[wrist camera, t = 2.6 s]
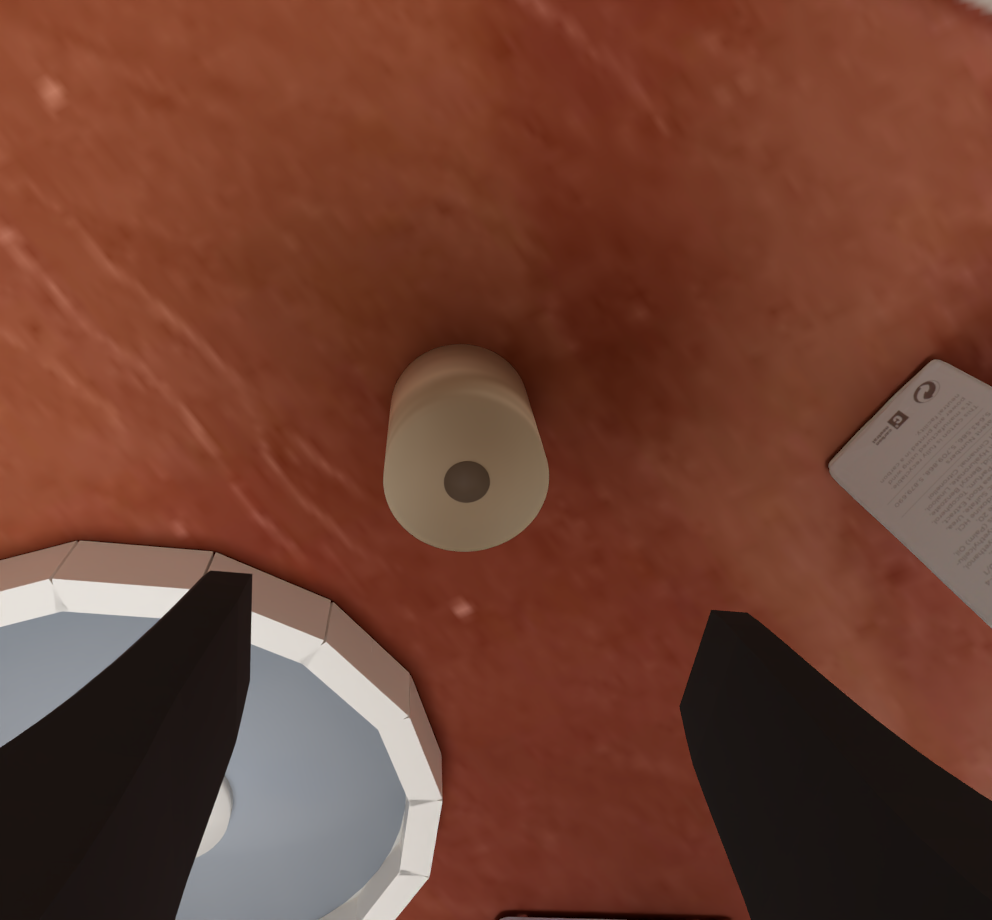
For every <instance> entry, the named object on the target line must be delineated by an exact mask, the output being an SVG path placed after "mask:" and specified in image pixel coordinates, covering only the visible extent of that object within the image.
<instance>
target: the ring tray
mask: <svg viewBox="0 0 992 920" xmlns="http://www.w3.org/2000/svg"><path fill="white" fill-rule="evenodd" d="M210 570H211V571H223V572H236V573H249V574H252V616H251V661H250V683H249V688H248V692H247V697H246V701H245V706H244V710H243V715H242V719H241V724H240V728H239V732H238V736H237V741H236V744H235V747H234V750H233V753H232V756H231V759H230V762H229V764H228V767H227V770H226V773H225V776H224V779H223V782H222V784H221V787H220V790H219V793H218V796H217V799H216V801H215V804H214V807H213V810H212V813H211V815H210V818H209V821H208V824H207V827H206V830H205V832H204V835H203V838H202V841H201V844H200V846H199V849H198V852H197V855H196V858H195V861H194V863H193V866H192V869H191V872H190V875H189V877H188V880H187V883H186V886H185V889H184V893H183V896H182V899H181V902H180V906H179V909H178V912H177V915H176V919H175V920H395V919H396V918H397V917H398V915H399V914H400V913H401V912H402V911H403V909H404V908H405V907H406V906H407V904H408V903H409V902H410V901H411V899H412V898H413V897H414V896H415V894H416V893H417V892H418V891H419V889H420V888H421V887H422V886H423V884H424V883H425V882H426V881H427V880H428V878H429V876H430V871H431V865H432V859H433V853H434V848H435V842H436V836H437V830H438V824H439V818H440V812H441V807H442V756H441V752H440V749H439V746H438V744H437V741H436V739H435V736H434V734H433V731H432V728H431V726H430V723H429V721H428V718H427V715H426V713H425V710H424V708H423V705H422V703H421V700H420V697H419V695H418V692H417V690H416V687H415V685H414V682H413V679H412V677H411V675H410V673H409V672H408V671H407V670H406V669H404V668H403V667H402V666H401V665H400V664H399V663H398V662H397V661H396V660H395V659H394V658H393V657H392V656H391V655H390V654H388V653H387V652H386V651H385V650H384V649H383V648H382V647H381V646H380V645H379V644H378V643H377V642H376V641H375V640H374V639H372V638H371V637H370V636H369V635H368V634H367V633H366V632H365V631H364V630H363V629H362V628H361V627H360V626H359V625H357V624H356V623H355V622H354V621H353V620H352V619H351V618H350V617H349V616H348V615H347V614H346V613H345V612H344V611H343V610H341V609H340V608H339V607H338V606H337V605H336V604H335V603H334V602H332V603H331V600H329V599H327V598H324V597H322V596H319V595H317V594H315V593H312V592H310V591H307V590H305V589H303V588H300V587H298V586H296V585H293V584H291V583H288V582H286V581H284V580H281V579H279V578H276V577H274V576H272V575H269V574H267V573H265V572H262V571H260V570H257V569H255V568H253V567H250V566H248V565H245V564H243V563H241V562H238V561H236V560H234V559H231V558H229V557H226V556H224V555H222V554H219V553H217V552H216V553H215V555H214V557H213V551H202V550H190V549H177V548H165V547H153V546H141V545H129V544H117V543H105V542H92V541H79V542H77V541H74V542H70V543H66V544H62V545H58V546H54V547H50V548H47V549H43V550H39V551H35V552H31V553H27V554H23V555H19V556H15V557H12V558H8V559H4V560H0V747H2V746H3V745H5V744H6V743H8V742H9V741H11V740H12V739H14V738H15V737H16V736H18V735H19V734H21V733H22V732H24V731H25V730H26V729H28V728H29V727H31V726H32V725H34V724H35V723H37V722H38V721H39V720H41V719H42V718H43V717H45V716H46V715H48V714H49V713H50V712H52V711H53V710H54V709H56V708H57V707H58V706H59V705H61V704H62V703H63V702H65V701H66V700H67V699H69V698H70V697H71V696H73V695H74V694H75V693H76V692H77V691H79V690H80V689H81V688H82V687H84V686H85V685H86V684H87V683H88V682H90V681H91V680H92V679H93V678H94V677H96V676H97V675H98V674H99V673H101V672H102V671H103V670H104V669H105V668H107V667H108V666H109V665H110V664H111V663H113V662H114V661H115V660H116V659H117V658H118V657H120V656H121V655H122V654H123V653H124V652H125V651H126V650H127V649H128V648H129V647H131V646H132V645H133V644H134V643H135V642H136V641H137V640H138V639H139V638H140V637H141V636H143V635H144V634H145V633H146V632H147V631H148V630H149V629H150V628H151V627H152V626H153V625H155V624H156V623H157V622H158V621H159V620H160V619H161V618H162V617H163V616H164V615H165V614H166V613H167V612H168V611H169V610H170V609H171V608H172V607H173V606H174V605H175V604H176V603H177V602H178V601H179V600H180V599H181V598H182V597H183V596H184V595H185V594H186V593H187V592H188V591H189V590H190V589H191V588H192V587H193V586H194V585H195V584H196V582H197V581H198V580H199V579H200V578H201V577H202V576H204V575H205V574H206V573H208V572H209V571H210Z"/></svg>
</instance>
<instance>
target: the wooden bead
mask: <svg viewBox="0 0 992 920" xmlns="http://www.w3.org/2000/svg"><path fill="white" fill-rule="evenodd" d="M383 485H384V493H385V496H386V500H387V503H388V505H389V508H390V510H391V512H392V513H393V515H394V517H395V518H396V520H397V521H398V522H399V523H400V524H401V526H402V527H403V528H404V529H406V530H407V531H408V532H409V533H410V534H411V535H413V536H414V537H416V538H417V539H419V540H421V541H423V542H424V543H426V544H429V545H431V546H434V547H437V548H441V549H445V550H450V551H462V552H468V551H479V550H484V549H488V548H491V547H495V546H498V545H500V544H502V543H504V542H507V541H508V540H510V539H512V538H513V537H515V536H516V535H518V534H519V533H520V532H522V531H523V530H524V529H525V528H526V527H527V526H528V525H529V524H530V523H531V522H532V521H533V519H534V518H535V517H536V516H537V514H538V512H539V511H540V509H541V507H542V505H543V503H544V501H545V498H546V494H547V491H548V485H549V468H548V462H547V458H546V455H545V452H544V448H543V445H542V442H541V439H540V435H539V432H538V429H537V425H536V422H535V419H534V415H533V412H532V409H531V406H530V402H529V399H528V396H527V392H526V389H525V386H524V384H523V382H522V380H521V378H520V376H519V375H518V373H517V372H516V370H515V369H514V368H513V367H512V366H511V364H510V363H508V362H507V361H506V360H505V359H504V358H502V357H501V356H499V355H498V354H496V353H494V352H492V351H490V350H488V349H485V348H482V347H479V346H474V345H468V344H453V345H446V346H441V347H438V348H435V349H432V350H430V351H428V352H426V353H424V354H422V355H421V356H419V357H418V358H416V359H415V360H414V361H413V362H412V363H411V364H409V366H408V367H407V368H406V369H405V370H404V371H403V373H402V374H401V376H400V377H399V379H398V381H397V383H396V385H395V387H394V391H393V394H392V399H391V406H390V416H389V426H388V435H387V445H386V455H385V465H384V476H383Z"/></svg>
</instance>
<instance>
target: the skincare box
mask: <svg viewBox="0 0 992 920" xmlns="http://www.w3.org/2000/svg"><path fill="white" fill-rule="evenodd" d="M828 467H829V472H830V474H831V476H832V477H833V478H834V479H835V480H836V481H837V483H838V484H839V485H840V486H842V487H843V488H844V489H845V490H846V491H847V492H848V493H849V494H850V495H851V496H852V497H853V498H854V499H855V500H856V501H857V502H858V503H859V504H860V505H862V506H863V507H864V508H865V509H866V510H867V511H868V512H869V513H870V514H871V515H872V516H874V517H875V518H876V519H877V520H878V521H879V522H880V523H881V524H882V525H883V526H884V527H885V528H886V529H888V530H889V531H890V532H891V533H892V534H893V535H894V536H895V537H896V538H897V539H898V540H899V541H900V542H901V543H902V544H904V545H905V546H906V547H907V548H908V549H909V550H910V551H911V552H912V553H913V554H914V555H915V556H916V557H917V558H918V559H919V560H920V561H921V562H923V563H924V564H925V565H926V566H927V567H928V568H929V569H930V570H931V571H932V572H933V573H934V574H935V575H936V576H937V577H938V578H939V579H940V580H941V581H942V582H943V583H944V584H945V585H946V586H947V587H948V588H949V589H951V590H952V591H953V592H954V593H955V594H956V595H957V596H958V597H959V598H960V599H961V600H962V601H963V602H964V603H965V604H966V605H967V606H968V607H970V608H971V609H972V610H973V611H974V612H975V613H976V614H977V615H978V616H979V617H980V618H981V619H982V620H983V621H984V622H986V623H987V624H988V625H989V626H990V627H991V628H992V387H991V386H989V385H988V384H986V383H984V382H982V381H980V380H978V379H976V378H974V377H973V376H971V375H969V374H967V373H965V372H963V371H961V370H959V369H958V368H956V367H954V366H952V365H950V364H948V363H946V362H944V361H941V360H936V359H935V360H932V361H930V362H929V363H928V364H927V365H926V366H925V367H924V368H923V369H922V370H921V371H919V372H918V373H917V374H916V375H915V376H914V377H913V378H912V379H911V380H910V381H909V382H907V383H906V384H905V385H904V386H903V387H902V388H901V389H900V390H899V391H898V392H897V393H896V394H895V395H894V396H893V397H892V398H891V399H890V400H889V401H888V402H887V403H886V404H885V405H884V406H883V407H882V408H881V409H880V410H879V411H878V412H877V413H876V414H875V415H874V416H873V417H872V419H870V420H869V421H868V422H867V423H866V424H865V425H864V426H863V427H862V428H861V429H860V430H859V431H858V432H857V433H856V434H855V435H854V436H853V437H852V439H851V440H850V441H849V442H848V443H847V444H846V445H845V446H844V447H843V448H842V449H841V450H840V451H839V452H838V453H837V454H836V455H835V457H834V458H833V459H832V460H831V461H830V463H829V465H828Z"/></svg>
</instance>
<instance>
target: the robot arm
mask: <svg viewBox="0 0 992 920" xmlns="http://www.w3.org/2000/svg"><path fill="white" fill-rule="evenodd" d="M251 616H252V574H249V573H236V572H223V571H211V570H210V571H209V572H208V573H206V574H205V575H204V576H202V577H201V578H200V579H199V580H198V581H197V582H196V584H195V585H194V586H193V587H192V588H191V589H190V590H189V591H188V592H187V593H186V594H185V595H184V596H183V597H182V598H181V599H180V600H179V601H178V602H177V603H176V604H175V605H174V606H173V607H172V608H171V609H170V610H169V611H168V612H167V613H166V614H165V615H164V616H163V617H162V618H161V619H160V620H159V621H158V622H157V623H156V624H155V625H153V626H152V627H151V628H150V629H149V630H148V631H147V632H146V633H145V634H144V635H143V636H141V637H140V638H139V639H138V640H137V641H136V642H135V643H134V644H133V645H132V646H131V647H129V648H128V649H127V650H126V651H125V652H124V653H123V654H122V655H121V656H120V657H118V658H117V659H116V660H115V661H114V662H113V663H111V664H110V665H109V666H108V667H107V668H105V669H104V670H103V671H102V672H101V673H99V674H98V675H97V676H96V677H94V678H93V679H92V680H91V681H90V682H88V683H87V684H86V685H85V686H84V687H82V688H81V689H80V690H79V691H77V692H76V693H75V694H74V695H73V696H71V697H70V698H69V699H67V700H66V701H65V702H63V703H62V704H61V705H59V706H58V707H57V708H56V709H54V710H53V711H52V712H50V713H49V714H48V715H46V716H45V717H43V718H42V719H41V720H39V721H38V722H37V723H35V724H34V725H32V726H31V727H29V728H28V729H26V730H25V731H24V732H22V733H21V734H19V735H18V736H16V737H15V738H14V739H12V740H11V741H9V742H8V743H6V744H5V745H3V746H2V747H0V920H175V919H176V915H177V912H178V909H179V906H180V902H181V899H182V896H183V893H184V889H185V886H186V883H187V880H188V877H189V875H190V872H191V869H192V866H193V863H194V861H195V858H196V855H197V852H198V849H199V846H200V844H201V841H202V838H203V835H204V832H205V830H206V827H207V824H208V821H209V818H210V815H211V813H212V810H213V807H214V804H215V801H216V799H217V796H218V793H219V790H220V787H221V784H222V782H223V779H224V776H225V773H226V770H227V767H228V764H229V762H230V759H231V756H232V753H233V750H234V747H235V744H236V741H237V736H238V732H239V728H240V724H241V719H242V715H243V710H244V706H245V701H246V697H247V692H248V688H249V683H250V661H251ZM680 711H681V716H682V720H683V725H684V729H685V734H686V739H687V743H688V747H689V751H690V755H691V759H692V763H693V766H694V769H695V772H696V775H697V777H698V780H699V783H700V786H701V788H702V791H703V794H704V796H705V799H706V802H707V804H708V807H709V810H710V812H711V815H712V817H713V820H714V823H715V825H716V828H717V830H718V833H719V836H720V838H721V841H722V843H723V846H724V848H725V851H726V854H727V856H728V859H729V861H730V864H731V867H732V869H733V872H734V874H735V877H736V880H737V882H738V885H739V887H740V890H741V893H742V895H743V898H744V901H745V904H746V906H747V909H748V912H749V915H750V918H751V920H992V801H991V800H989V799H988V798H986V797H984V796H983V795H981V794H980V793H978V792H977V791H975V790H974V789H972V788H971V787H969V786H968V785H966V784H965V783H963V782H962V781H960V780H959V779H957V778H956V777H954V776H953V775H951V774H950V773H948V772H947V771H945V770H944V769H942V768H941V767H939V766H938V765H936V764H935V763H934V762H932V761H931V760H929V759H928V758H927V757H925V756H924V755H922V754H921V753H920V752H918V751H917V750H915V749H914V748H913V747H911V746H910V745H909V744H907V743H906V742H905V741H903V740H902V739H901V738H900V737H898V736H897V735H896V734H894V733H893V732H892V731H890V730H889V729H888V728H886V727H885V726H884V725H883V724H881V723H880V722H879V721H877V720H876V719H875V718H874V717H872V716H871V715H870V714H869V713H867V712H866V711H865V710H864V709H862V708H861V707H860V706H859V705H857V704H856V703H855V702H854V701H852V700H851V699H850V698H849V697H848V696H846V695H845V694H844V693H843V692H842V691H840V690H839V689H838V688H837V687H836V686H834V685H833V684H832V683H831V682H830V681H829V680H827V679H826V678H825V677H824V676H823V675H821V674H820V673H819V672H818V671H817V670H816V669H814V668H813V667H812V666H811V665H810V664H809V663H807V662H806V661H805V660H804V659H803V658H802V657H801V656H799V655H798V654H797V653H796V652H795V651H794V650H792V649H791V648H790V647H789V646H788V645H787V644H785V643H784V642H783V641H782V640H781V639H779V638H778V637H777V636H776V635H775V634H774V633H772V632H771V631H770V630H769V629H767V628H766V627H765V626H764V625H763V624H761V623H760V622H759V621H757V620H756V619H755V618H753V617H752V616H751V615H749V614H748V613H743V612H730V611H718V610H711V612H710V616H709V619H708V622H707V625H706V628H705V631H704V634H703V637H702V640H701V643H700V646H699V649H698V652H697V655H696V658H695V661H694V664H693V667H692V670H691V673H690V676H689V679H688V682H687V686H686V689H685V692H684V695H683V698H682V701H681V704H680ZM500 920H625V919H583V918H542V917H504V918H501V919H500Z"/></svg>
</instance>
